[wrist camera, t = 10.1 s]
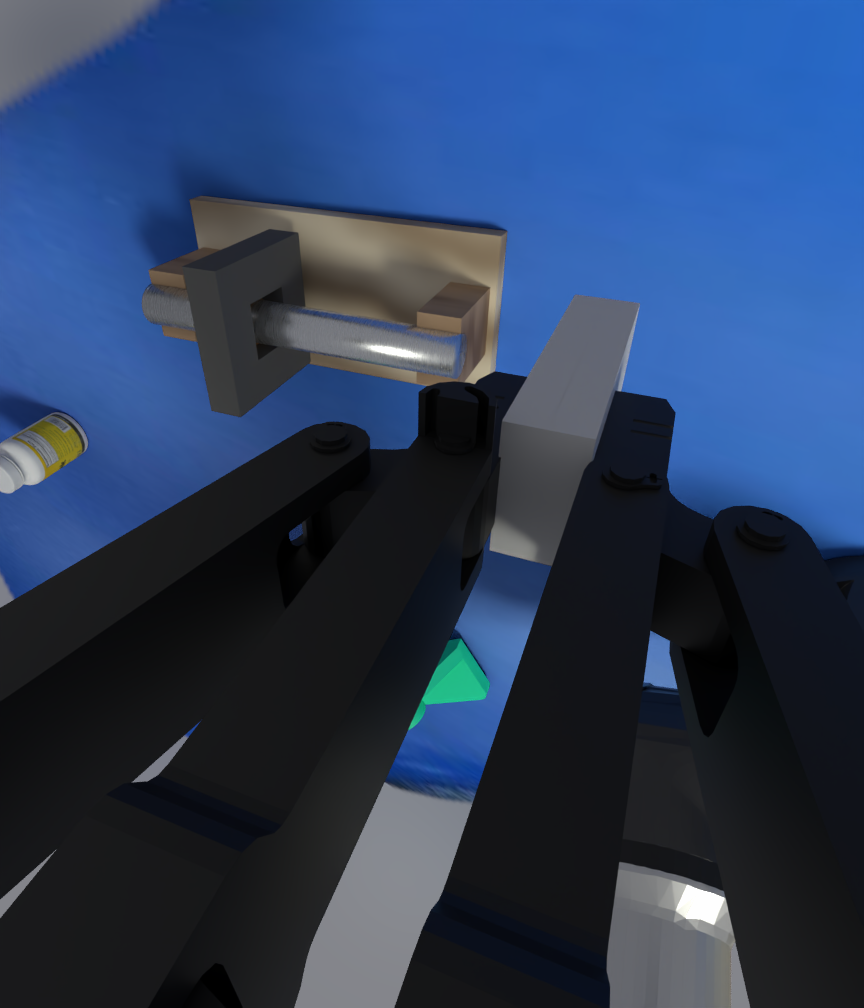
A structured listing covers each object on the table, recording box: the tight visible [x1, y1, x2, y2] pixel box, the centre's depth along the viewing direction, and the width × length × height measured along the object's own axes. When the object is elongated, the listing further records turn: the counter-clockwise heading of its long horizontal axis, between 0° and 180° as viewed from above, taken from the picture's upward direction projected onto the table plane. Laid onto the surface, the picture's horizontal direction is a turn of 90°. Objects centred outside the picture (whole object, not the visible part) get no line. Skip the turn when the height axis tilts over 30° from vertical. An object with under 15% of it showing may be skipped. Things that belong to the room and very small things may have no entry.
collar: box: [182, 229, 311, 417], centre depth 46 cm, size 10×2×10 cm, turn 179°
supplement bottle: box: [0, 412, 88, 493], centre depth 70 cm, size 5×5×10 cm
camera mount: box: [408, 638, 490, 730], centre depth 70 cm, size 12×8×10 cm, turn 121°
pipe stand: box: [149, 196, 507, 386], centre depth 48 cm, size 12×25×8 cm, turn 89°
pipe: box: [142, 284, 467, 379], centre depth 45 cm, size 3×24×3 cm, turn 89°
